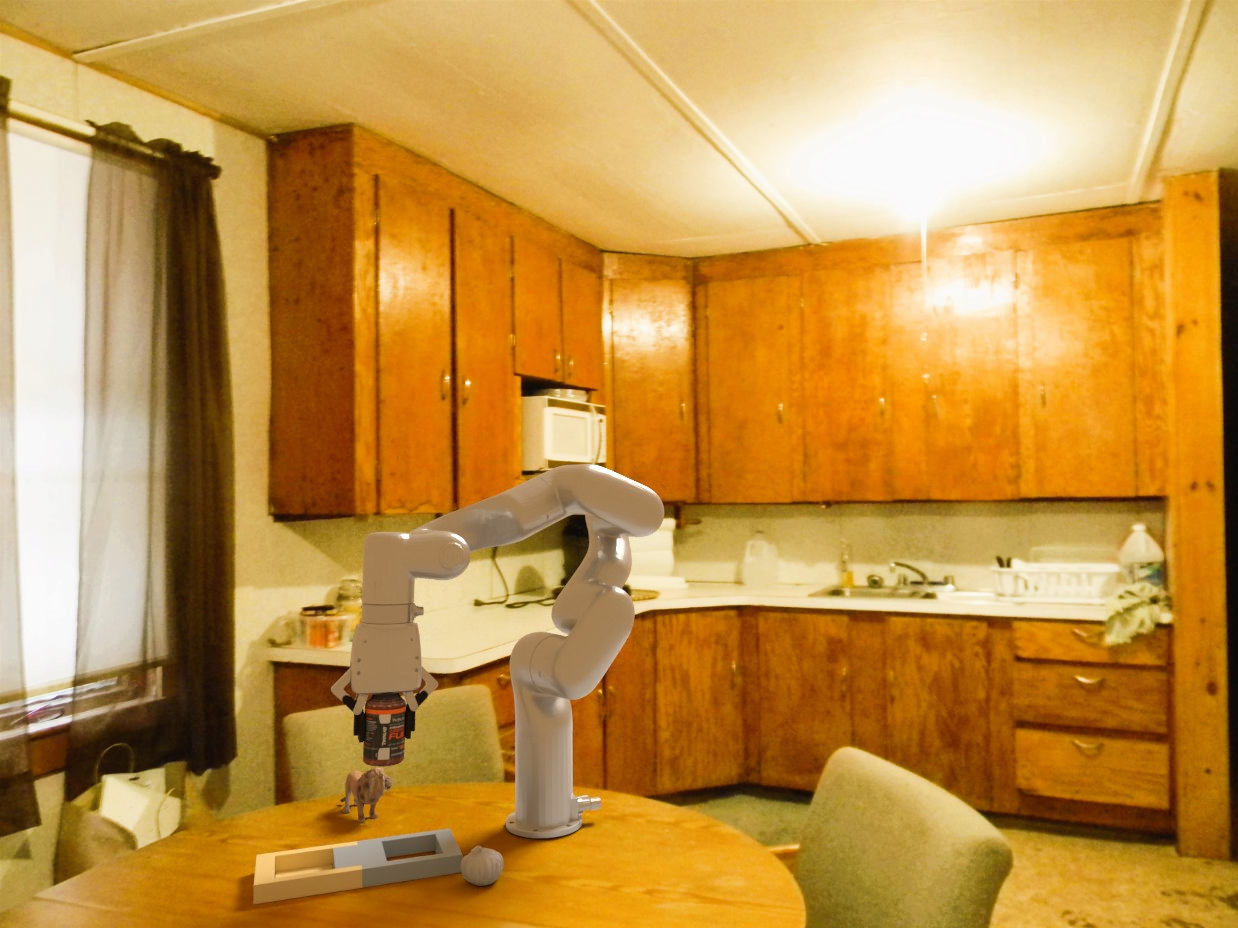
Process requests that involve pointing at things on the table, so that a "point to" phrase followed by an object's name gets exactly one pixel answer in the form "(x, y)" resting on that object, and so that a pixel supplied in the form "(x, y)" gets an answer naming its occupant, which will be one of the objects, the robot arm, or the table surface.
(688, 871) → the table surface
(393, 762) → the supplement bottle
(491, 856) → the garlic
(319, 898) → the table surface
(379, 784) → the lion figurine
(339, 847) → the beige and grey tray
